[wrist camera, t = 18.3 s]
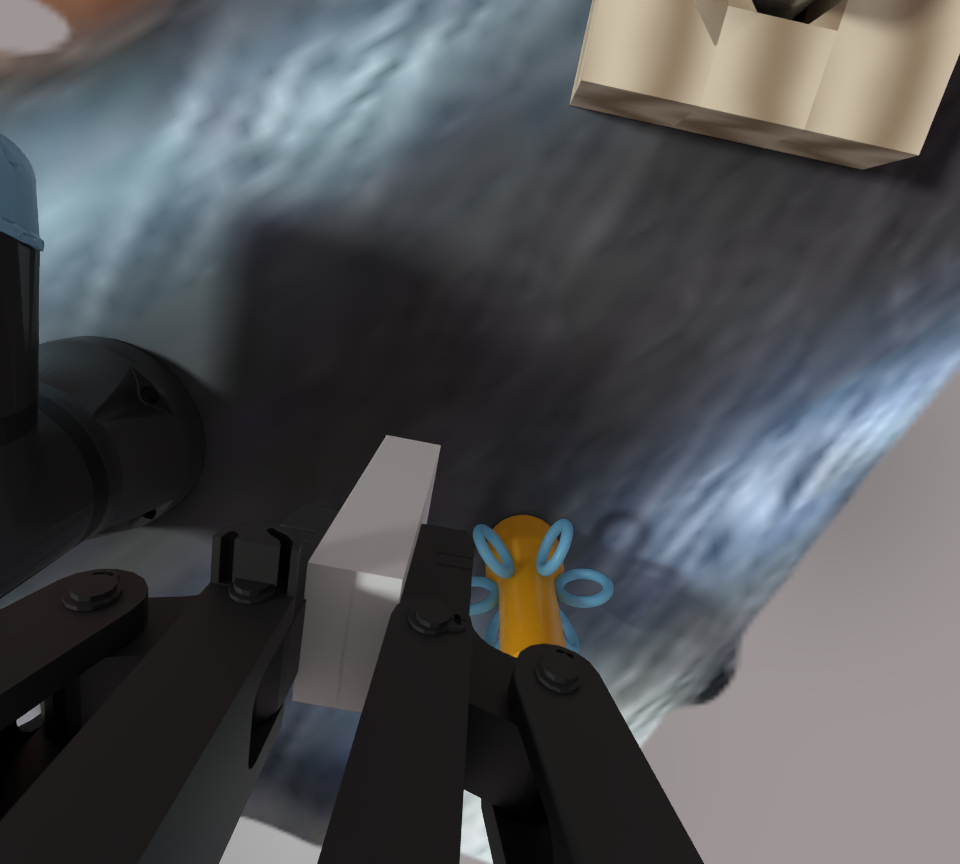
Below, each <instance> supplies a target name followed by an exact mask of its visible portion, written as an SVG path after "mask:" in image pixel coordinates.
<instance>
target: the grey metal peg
mask: <svg viewBox="0 0 960 864" xmlns="http://www.w3.org/2000/svg"><path fill="white" fill-rule="evenodd" d="M814 1H815V0H752V2H753V4H754V6H755V9H756V11H757V13H762V14H766V15H770V16H775V17H779V18H783V19H788V20H792V19H793V18H794V17H795V16H797V15H798V14H799V13H800V12H801V11H803V10H804V9H805V8H806V7H807V6H809V5H810V4H811V3H812V2H814Z"/></svg>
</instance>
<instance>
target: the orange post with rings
mask: <svg viewBox="0 0 960 864" xmlns="http://www.w3.org/2000/svg"><path fill="white" fill-rule="evenodd" d="M561 532H562V533H561ZM560 533H561V538H560V541H559V542H558V538H557V536H558V535H559V534H560ZM572 537H573V526H572V523H571V522H570V521H569V520H568V519H560V520H558V521H556V522H555V523H554V524H553V525H552V526H550V525H549V524H547V523H546V522H545V521H543V520H542V519H540V518H537V517H535V516H530V515H515V516H511V517H508V518H506V519H504V520H502V521H501V522H499V523H498V524H497V525H496V526H495V527H494V528H493V529H491V528H490V527H488V526H487V525H484V524H478V525H476V526H475V528H474V530H473V539H474V543H475V545H476V548H477V550H478V552H479V554H480V555H481V557H482V559H483V560H484V562H485V563H486V577H482V576H472V583H471V587H483V588H485V589H487V590H489V591H490V595H489V597H488V598H487V599H485V600H483V601H481V602H478V603H474V604H470V613H469V615H470V616H474V615H479V614H482V613H485V612H487V611H489V610H491V609H492V608H494V607H495V606H496V605H497V603H498V602H499V609H498V611H497V612H496V614H495V615H494V617H493V619H492V620H491V622H490V625H489V627H488V629H487V632H486V635H485V639H484V641H485V642H487V643H488V644H489V645H491V646H492V647H493V646H494V648H496V649H498V650H500V651H502V652H504V653H507V654H509V655H511V656H514V657H516V658H517V657H518V655H519V653H520V652H521V651H522V650H524V649H525V648H527V647H529V646H530V645H537V644H543V643H545V644H552V645H559V646H562V647H564V648H567V649H569V650H572V651H574V652H576V653H578V654H579V652H580V644H579V640H578V637H577V635H576V632H575V630H574V628H573V626H572V625H571V623H570V621H569V620H568V618H567V617H566V615H565V614H564V612H563V611H562V610H561V609H560V608H559V606H558V601H557V598H558V599H559V600H560V601H562V602H563V603H565V604H567V605H570V606H573V607H578V608H591V607H596V606H599V605H602V604H604V603H606V602H607V601H608V600H609V599H610V598H611V597H612V595H613V592H614V586H613V583H612V581H611V580H610V578H609V577H608V576H606V575H605V574H603V573H602V572H599V571H596V570H593V569H586V568H579V569H572V570H568V571H566V572H564V563H563V561H564V559H565V557H566V555H567V553H568V551H569V548H570V545H571V542H572ZM485 538H486V539H487V542H486V540H485ZM577 579H588V580H593V581H596V582H598V583H599V584H601V585H602V587H603V589H602V590H601V591H600V592H599V593H597V594H595V595H591V596H577V595H573V594H570V593H568V592H567V591H566V590H565V589H564V586H565V584H567V583H568V582H570V581H573V580H577ZM498 629H499V631H500V636H499V638H498V640H497V642H496V644H495V645H494V641H495V637H496V634H497V632H498ZM563 631H564V633H565V635H566V637H567V640H568V641H567V640H566V638H565V637H564V633H563Z"/></svg>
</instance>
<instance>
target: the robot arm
mask: <svg viewBox="0 0 960 864" xmlns="http://www.w3.org/2000/svg"><path fill="white" fill-rule="evenodd" d="M43 250H44V241H43V240H42V239H40V237H39V224H38V209H37V195H36V179H35V174H34V171H33V168H32V166H31V164H30V162H29V160H28V159H27V157H26V156H25V154H24V153H23V152H22V151H21V150H20V149H19V148H18V147H17V146H16V145H15V144H14V143H13V142H12V141H11V140H10V139H8V138H7V137H6V136H4V135H2V134H1V133H0V599H1V598H2V597H4V596H5V595H7V594H8V593H10V592H11V591H12V590H14V589H15V588H17V587H18V586H19V585H21V584H22V583H24V582H25V581H27V580H28V579H29V578H31V577H32V576H34V575H35V574H37V573H38V572H39V571H41V570H42V569H44V568H45V567H47V566H48V565H49V564H51V563H52V562H54V561H55V560H57V559H58V558H59V557H61V556H62V555H64V554H65V553H67V552H68V551H69V550H71V549H72V548H73V547H75V546H76V545H78V544H79V543H81V542H83V541H85V540H89V539H93V538H97V537H101V536H105V535H109V534H114V533H118V532H122V531H126V530H130V529H134V528H137V527H140V526H143V525H145V524H148V523H150V522H152V521H154V520H156V519H157V518H159V517H161V516H162V515H163V514H165V513H166V512H168V511H169V510H170V509H172V508H173V507H174V506H175V505H177V504H178V503H179V502H180V501H182V500H183V499H184V498H185V497H186V496H187V494H188V493H189V492H190V491H191V489H192V488H193V486H194V485H195V483H196V481H197V479H198V477H199V474H200V471H201V468H202V464H203V459H204V436H203V430H202V425H201V422H200V418H199V415H198V413H197V410H196V408H195V406H194V404H193V402H192V400H191V398H190V396H189V395H188V393H187V392H186V390H185V389H184V387H183V386H182V385H181V383H180V382H179V381H178V380H177V379H176V377H175V376H174V375H173V374H172V373H171V372H170V371H169V370H168V369H167V368H165V367H164V366H163V365H162V364H161V363H160V362H158V361H157V360H156V359H154V358H153V357H151V356H150V355H148V354H147V353H145V352H143V351H141V350H139V349H138V348H135V347H133V346H131V345H129V344H126V343H124V342H120V341H117V340H114V339H109V338H104V337H96V336H80V337H72V338H66V339H60V340H55V341H50V342H45V343H42V344H39V266H40V251H43ZM440 448H441V445H436V444H431V443H426V442H421V441H415V440H410V439H405V438H400V437H394V436H389V435H386V437H385V438H384V440H383V442H382V443H381V445H380V447H379V448H378V450H377V451H376V453H375V455H374V456H373V458H372V459H371V461H370V463H369V464H368V466H367V468H366V469H365V471H364V472H363V474H362V476H361V477H360V479H359V480H358V482H357V484H356V485H355V487H354V489H353V490H352V492H351V493H350V495H349V497H348V498H347V500H346V501H345V503H344V505H343V506H342V508H341V510H338V509H332V508H327V507H322V506H316V505H311V504H307V505H305V506H303V507H301V508H299V509H297V510H295V511H292V512H290V513H289V515H288V516H287V517H286V518H285V520H284V521H283V522H282V523H281V525H280V526H279V525H276V524H271V523H259V522H254V523H244V524H237V525H234V526H231V527H228V528H224V529H223V530H221V531H219V532H218V533H216V534H215V535H213V543H212V562H211V582H210V583H209V584H208V586H207V587H206V588H205V589H204V590H203V591H202V592H201V594H200V595H195V596H184V597H157V598H148V587H147V584H146V582H145V580H144V579H143V578H142V577H140V576H138V575H137V574H135V573H133V572H129V571H124V570H119V569H96V570H91V571H86V572H81V573H76V574H73V575H71V576H68V577H66V578H63V579H60V580H58V581H56V582H54V583H52V584H50V585H48V586H46V587H44V588H42V589H40V590H38V591H36V592H34V593H32V594H30V595H28V596H26V597H24V598H22V599H20V600H18V601H16V602H14V603H12V604H10V605H9V606H7V607H5V608H3V609H1V610H0V864H219V862H220V860H221V858H222V855H223V853H224V851H225V849H226V847H227V844H228V842H229V840H230V838H231V835H232V833H233V831H234V829H235V827H236V824H237V822H238V820H239V818H240V816H241V814H242V811H243V809H244V807H245V805H246V803H247V800H248V798H249V796H250V794H251V792H252V789H253V787H254V785H255V783H256V781H257V778H258V776H259V774H260V772H261V770H262V767H263V765H264V763H265V761H266V758H267V756H268V754H269V752H270V750H271V747H272V745H273V743H274V741H275V739H276V736H277V734H278V732H279V730H280V728H281V723H282V718H283V712H284V703H285V698H286V696H287V694H288V692H289V690H290V688H291V685H292V683H293V681H294V679H295V682H294V690H293V699H292V701H296V702H302V703H308V704H314V705H320V706H325V707H331V708H337V709H343V710H349V711H355V712H360V713H362V714H361V717H360V721H359V724H358V727H357V731H356V734H355V738H354V741H353V744H352V748H351V751H350V755H349V758H348V761H347V765H346V768H345V772H344V775H343V778H342V782H341V785H340V789H339V792H338V795H337V799H336V802H335V805H334V809H333V812H332V816H331V819H330V822H329V826H328V829H327V833H326V836H325V839H324V843H323V846H322V850H321V853H320V856H319V860H318V863H317V864H459V861H460V844H461V826H462V809H463V792H464V789H465V790H466V791H468V792H470V793H472V794H474V795H476V796H478V797H480V798H481V809H482V813H483V818H484V823H485V827H486V832H487V836H488V841H489V845H490V850H491V855H492V859H493V864H704V863H703V861H702V859H701V857H700V855H699V854H698V852H697V850H696V848H695V846H694V845H693V843H692V841H691V839H690V837H689V836H688V834H687V832H686V830H685V829H684V827H683V825H682V823H681V821H680V819H679V818H678V816H677V814H676V812H675V810H674V809H673V807H672V805H671V803H670V801H669V800H668V798H667V796H666V794H665V792H664V791H663V789H662V787H661V785H660V783H659V781H658V780H657V778H656V776H655V774H654V773H653V771H652V769H651V767H650V765H649V763H648V762H647V760H646V758H645V756H644V754H643V752H642V751H641V749H640V747H639V745H638V743H637V742H636V740H635V738H634V736H633V734H632V733H631V731H630V729H629V727H628V725H627V724H626V722H625V720H624V718H623V716H622V715H621V713H620V711H619V709H618V707H617V706H616V704H615V702H614V700H613V698H612V697H611V695H610V693H609V691H608V689H607V687H606V686H605V684H604V682H603V680H602V678H601V677H600V675H599V673H598V672H597V671H596V670H595V668H594V667H593V666H592V665H591V663H590V662H589V661H587V660H586V659H585V658H583V657H582V656H580V655H579V654H578V653H576V652H574V651H572V650H569V649H567V648H564V647H562V646H559V645H552V644H545V643H543V644H537V645H530V646H529V647H527V648H525V649H524V650H522V651H521V652H520V653H519V655H518V657H517V658H516V657H514V656H511V655H509V654H507V653H504V652H502V651H500V650H498V649H496V648H494V647H492V646H491V645H489V644H488V643H487V642H485V641H484V640H483V639H481V638H480V636H479V635H478V634H477V633H476V632H475V631H474V629H473V627H472V622H471V618H470V615H469V613H470V598H471V583H472V568H473V552H474V544H473V542H472V541H471V539H470V538H469V536H468V534H467V533H466V531H460V530H455V529H450V528H444V527H439V526H434V525H428V524H427V519H428V513H429V508H430V502H431V497H432V491H433V486H434V480H435V475H436V470H437V464H438V459H439V453H440ZM38 704H40V705H41V714H39V715H38V716H36V717H35V718H34V719H32V720H31V721H29V722H27V723H25V724H23V725H21V726H19V727H18V726H17V723H16V720H17V719H18V718H20V717H21V716H23V715H24V714H26V713H27V712H28V711H30V710H31V709H33V708H34V707H35V706H37V705H38Z"/></svg>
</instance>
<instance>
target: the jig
mask: <svg viewBox="0 0 960 864" xmlns="http://www.w3.org/2000/svg"><path fill="white" fill-rule="evenodd" d="M959 54H960V0H815V1H814V2H812V3H811V4H810V5H809V6H808V8H807V11H806V14H805V17H804V20H803V23H801V22H796V21H792V20H788V19H783V18H779V17H775V16H770V15H766V14H762V13H757V11H756V9H755V6H754V4H753V2H752V0H592V5H591V9H590V14H589V18H588V23H587V28H586V32H585V37H584V41H583V46H582V50H581V55H580V59H579V64H578V69H577V73H576V78H575V82H574V87H573V91H572V96H571V101H570V105H571V106H576V107H580V108H585V109H589V110H594V111H598V112H603V113H607V114H612V115H616V116H621V117H626V118H630V119H635V120H639V121H644V122H648V123H653V124H657V125H662V126H666V127H671V128H675V129H680V130H684V131H689V132H694V133H698V134H703V135H707V136H712V137H716V138H721V139H725V140H730V141H734V142H739V143H743V144H748V145H752V146H757V147H762V148H766V149H771V150H775V151H780V152H784V153H789V154H793V155H798V156H802V157H807V158H811V159H816V160H820V161H825V162H830V163H834V164H839V165H843V166H848V167H852V168H857V169H861V170H864V169H867V168H871V167H875V166H879V165H883V164H887V163H891V162H895V161H899V160H902V159H906V158H910V157H914V156H918V155H919V154H920V151H921V149H922V146H923V144H924V141H925V139H926V136H927V134H928V131H929V129H930V126H931V124H932V121H933V119H934V116H935V114H936V111H937V109H938V106H939V104H940V101H941V99H942V96H943V94H944V91H945V89H946V86H947V84H948V81H949V79H950V76H951V74H952V71H953V69H954V66H955V64H956V61H957V59H958V56H959Z"/></svg>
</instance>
